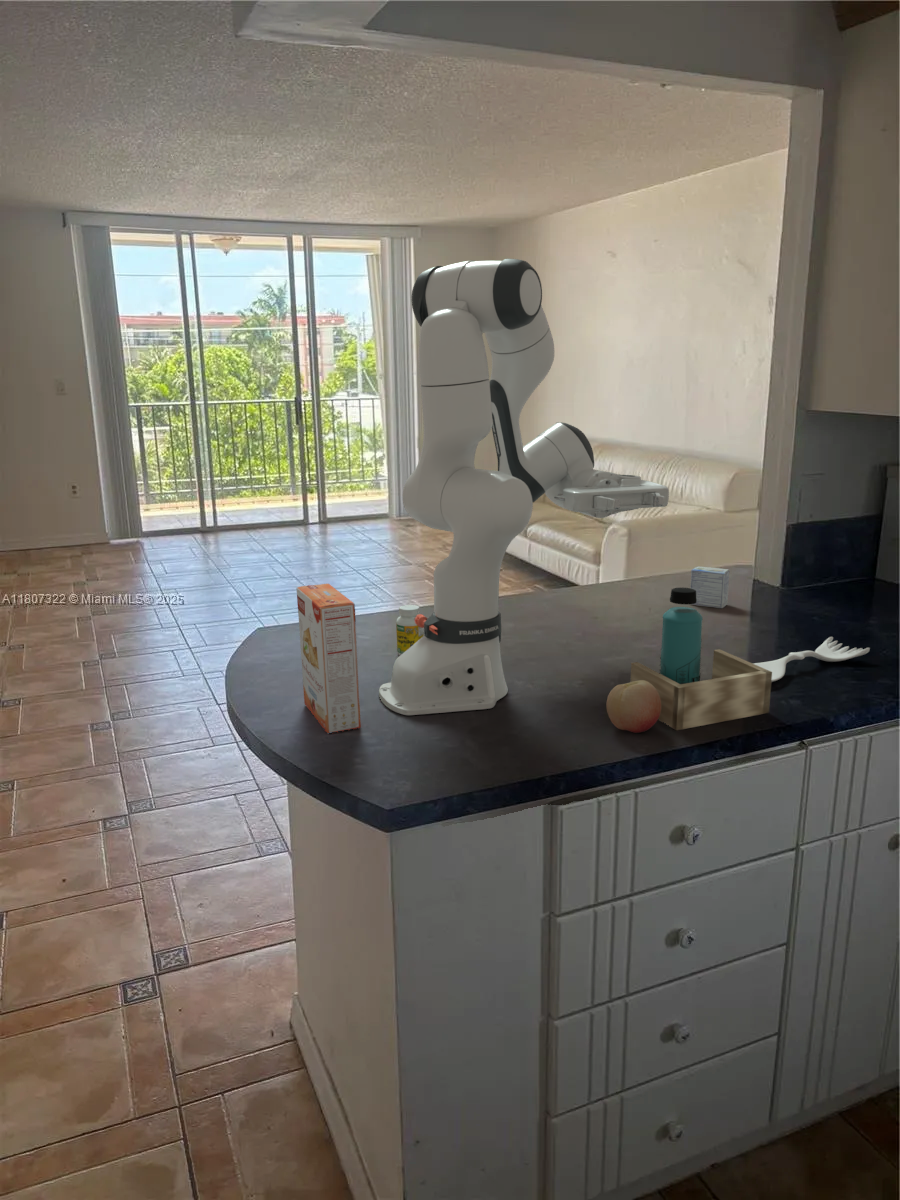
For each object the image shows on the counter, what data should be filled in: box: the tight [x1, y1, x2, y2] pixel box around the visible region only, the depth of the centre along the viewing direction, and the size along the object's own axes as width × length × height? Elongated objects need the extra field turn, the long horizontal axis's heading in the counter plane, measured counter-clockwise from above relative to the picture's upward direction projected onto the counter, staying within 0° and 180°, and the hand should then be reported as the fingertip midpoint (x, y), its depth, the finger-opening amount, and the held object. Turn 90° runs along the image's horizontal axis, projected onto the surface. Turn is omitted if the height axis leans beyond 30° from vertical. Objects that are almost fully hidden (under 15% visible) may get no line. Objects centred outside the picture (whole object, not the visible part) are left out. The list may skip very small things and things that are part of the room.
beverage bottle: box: [658, 587, 704, 684], centre depth 142 cm, size 6×7×20 cm
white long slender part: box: [752, 636, 871, 683], centre depth 162 cm, size 9×32×4 cm, turn 120°
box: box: [630, 649, 772, 731], centre depth 144 cm, size 18×13×7 cm
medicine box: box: [690, 566, 730, 609], centre depth 207 cm, size 8×4×9 cm, turn 58°
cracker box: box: [296, 583, 362, 734], centre depth 140 cm, size 14×6×21 cm, turn 24°
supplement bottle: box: [395, 604, 424, 656], centre depth 173 cm, size 5×5×10 cm
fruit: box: [605, 680, 661, 734], centre depth 135 cm, size 8×8×8 cm
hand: (639, 503), depth 154 cm, fingers open, 8 cm apart
